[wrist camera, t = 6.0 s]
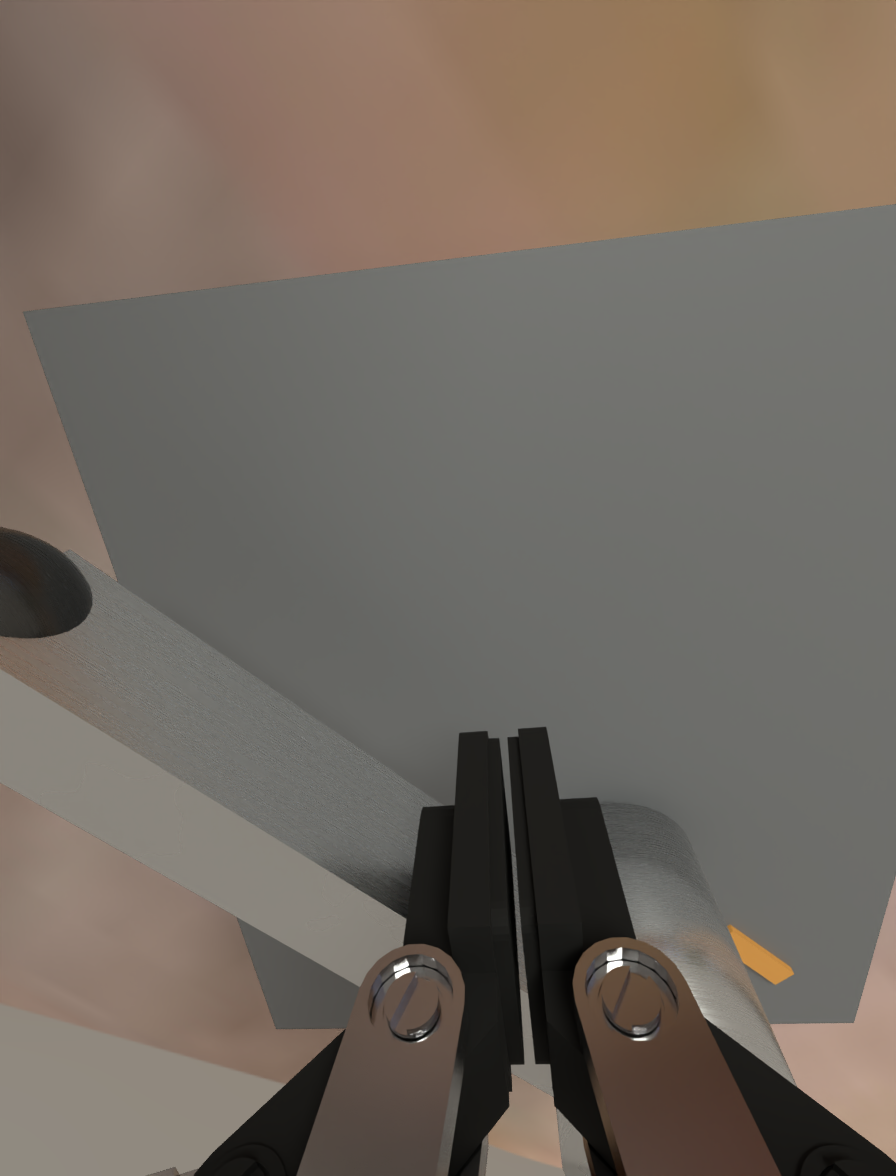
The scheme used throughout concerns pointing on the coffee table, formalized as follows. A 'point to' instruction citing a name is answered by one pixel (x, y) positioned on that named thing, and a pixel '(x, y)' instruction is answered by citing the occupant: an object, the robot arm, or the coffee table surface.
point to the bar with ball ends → (280, 796)
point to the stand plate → (548, 540)
